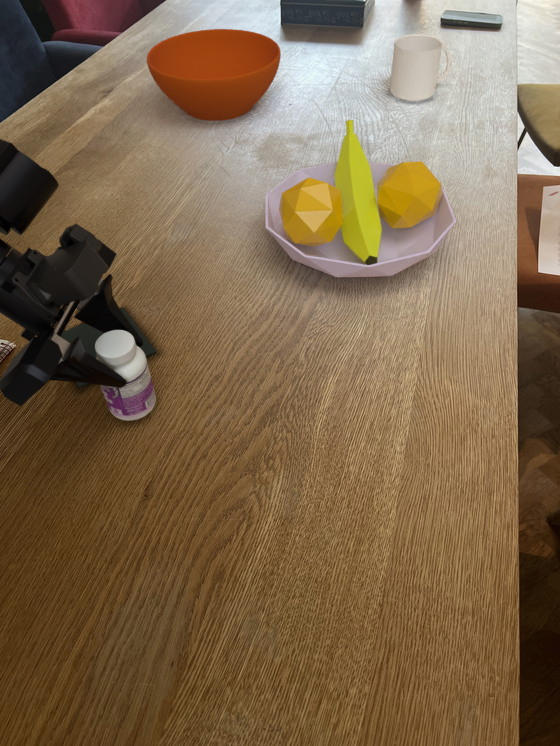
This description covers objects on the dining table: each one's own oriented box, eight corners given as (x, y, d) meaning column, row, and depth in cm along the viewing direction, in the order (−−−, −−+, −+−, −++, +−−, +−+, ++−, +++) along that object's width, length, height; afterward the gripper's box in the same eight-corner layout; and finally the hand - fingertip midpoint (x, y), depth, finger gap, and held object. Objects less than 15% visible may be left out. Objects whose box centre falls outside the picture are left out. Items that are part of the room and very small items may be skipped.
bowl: (279, 77, 131) (278, 26, 123) (283, 132, 114) (282, 76, 106) (162, 82, 131) (154, 31, 123) (148, 137, 114) (138, 82, 106)
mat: (79, 388, 72) (78, 385, 71) (50, 339, 77) (49, 337, 77) (156, 353, 75) (156, 350, 75) (123, 309, 81) (122, 306, 81)
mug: (393, 102, 121) (399, 52, 114) (385, 83, 127) (390, 35, 120) (453, 99, 121) (463, 49, 115) (443, 81, 128) (451, 32, 121)
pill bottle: (100, 400, 69) (78, 339, 62) (142, 379, 71) (125, 317, 64) (122, 430, 66) (101, 370, 59) (165, 407, 68) (150, 345, 61)
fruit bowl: (437, 315, 79) (453, 241, 70) (238, 280, 84) (231, 208, 76) (459, 200, 97) (474, 131, 88) (294, 178, 102) (294, 111, 94)
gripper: (-19, 294, 46) (151, 403, 52) (74, 167, 58) (201, 269, 65) (-70, 358, 52) (86, 448, 59) (23, 232, 65) (143, 318, 72)
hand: (133, 364), depth 63 cm, fingers closed on pill bottle, 5 cm apart
